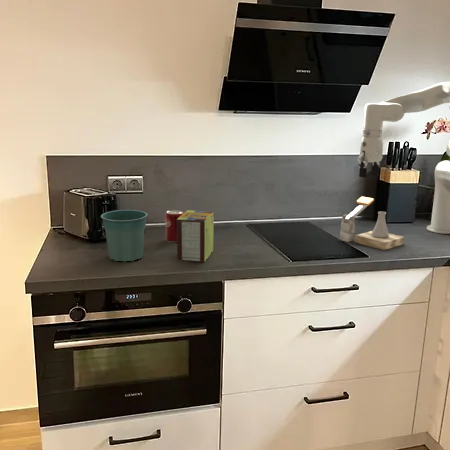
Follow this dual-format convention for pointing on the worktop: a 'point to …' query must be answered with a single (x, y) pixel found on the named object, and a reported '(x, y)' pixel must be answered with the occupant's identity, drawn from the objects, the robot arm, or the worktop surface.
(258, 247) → the worktop surface
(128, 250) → the flower pot
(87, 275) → the worktop surface
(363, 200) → the lever
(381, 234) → the flask
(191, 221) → the protein box
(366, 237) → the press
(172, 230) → the soda can
